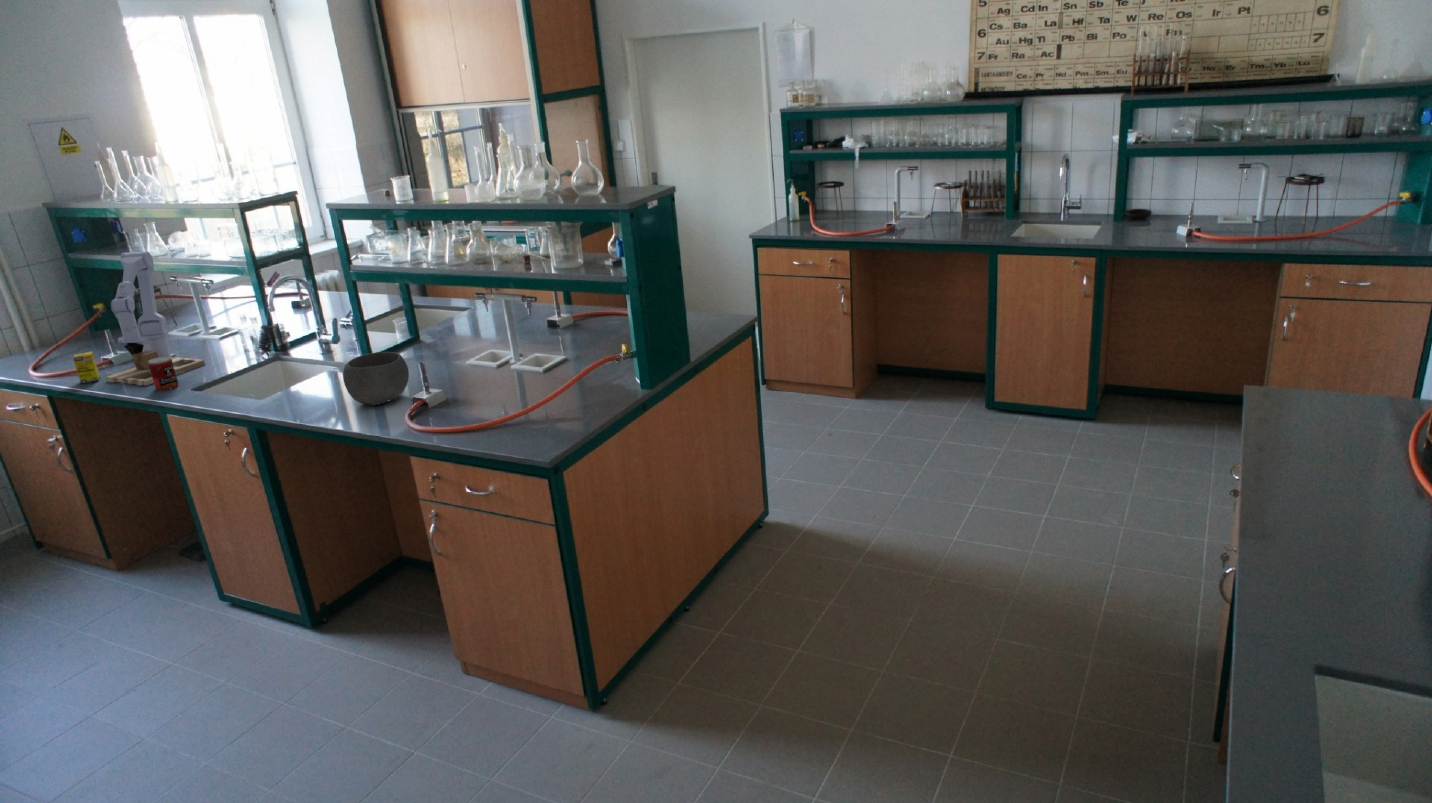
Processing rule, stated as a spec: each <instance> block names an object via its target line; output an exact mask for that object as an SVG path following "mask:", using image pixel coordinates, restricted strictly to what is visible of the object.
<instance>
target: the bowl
mask: <svg viewBox="0 0 1432 803" xmlns="http://www.w3.org/2000/svg"><path fill="white" fill-rule="evenodd" d="M409 376H410V372H409V367H408V364H407V362H406V361H405V359H404V357H403V356H402V355H401V354H400V353H398V352H394V351H377V352H370V353H366V354H361V355H359V356H357V357H354V358H352V359H351V360H349V361H347V363H345V365H344V368H343V374H342V379H343V384H344V386H345V389H346V390H347V393H348V394H349V396H350V397H351V398H352V399H353V400H354V401H356V402H358V403H359V404H362V405H366V406H373V405H372V404H378V403H382V404H384V403H383V402H386V401H388V400H391V401H393V400H394V398H395V399H396V398H397V397H399V396H400V395H401V394H402V393H403V392H404V391H405V389H406V388H407V386H408V383H409V378H410V377H409ZM392 399H393V400H392ZM386 403H387V402H386Z"/></svg>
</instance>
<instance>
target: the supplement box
mask: <svg viewBox="0 0 1432 803" xmlns="http://www.w3.org/2000/svg"><path fill="white" fill-rule="evenodd" d="M72 359H73V363H74V365H75V369H76V372H77V376H78V379H79V381H80V382H79V383H80V384H81V385H84V384H91V383H97V382H99V381H100V379H101V376H100V373H99V368H98V365H97V362H96V359H95V356H94V352H93V351H86V352H82V353H76V354H74V355H73V357H72Z"/></svg>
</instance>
